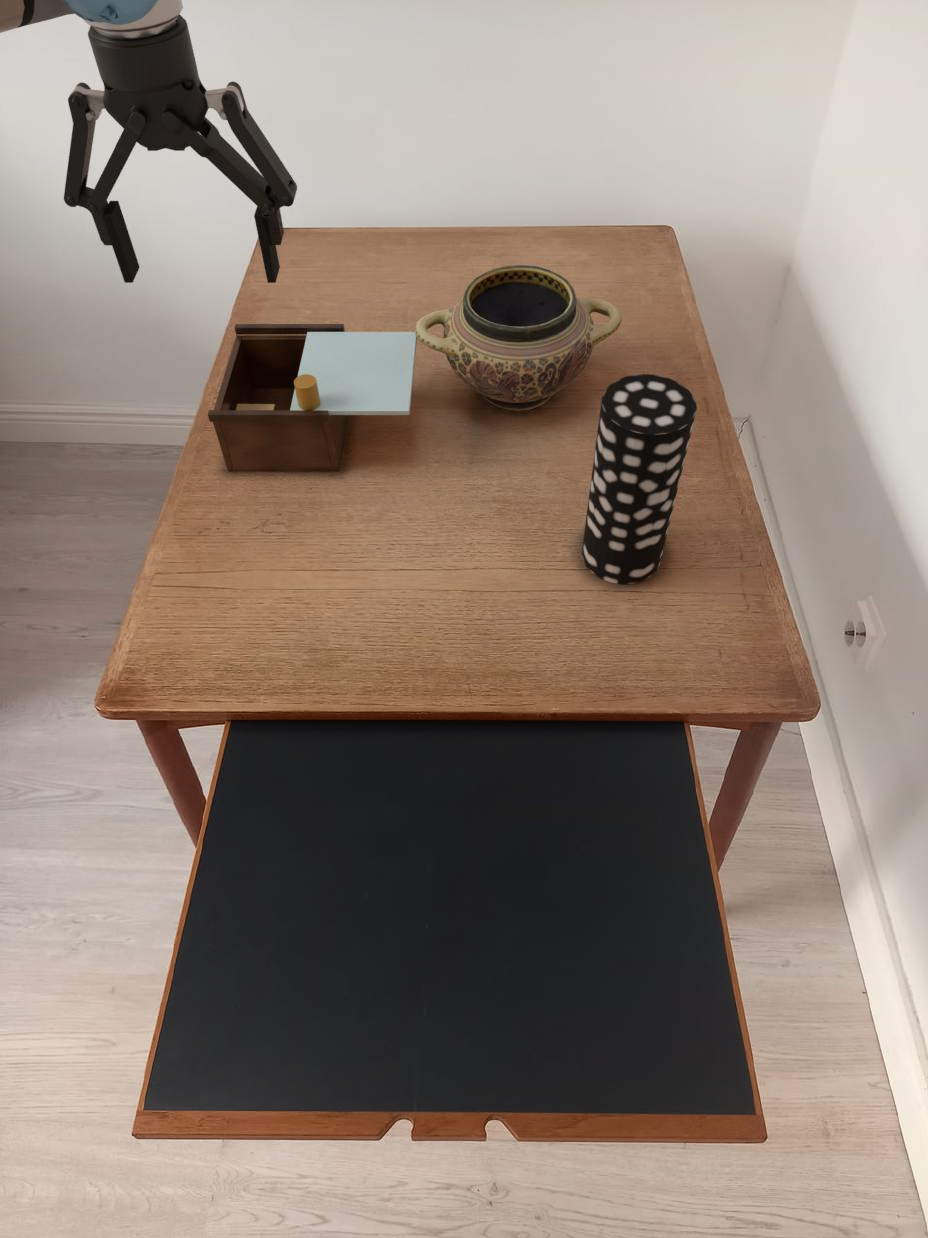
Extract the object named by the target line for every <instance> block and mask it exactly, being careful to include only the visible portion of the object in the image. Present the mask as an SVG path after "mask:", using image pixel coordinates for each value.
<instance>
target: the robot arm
mask: <svg viewBox="0 0 928 1238" xmlns="http://www.w3.org/2000/svg"><path fill="white" fill-rule="evenodd" d="M183 9H184V5H183V0H0V34H1V33H4V32H8V31H12V30H16V29H19V28H22V27H26V26H30V25H33V24H34V25H35V24H37V23H38V24H39V23H41V22H42V23H43V22H46V21H49V20H53V19H56V18H60V17H65V16H68V15H69V16H70V15H75V16H77V17H79V18H80V19H82V20H83V21H84V22H85V23H86V24H87V25H88V26H89V28H88V32H87V37H88V40H89V45H90V46H91V50H92V53H93V57H94V59H95V63H96V67H97V69H98V73H99V76H100V79H101V81H102V83H103V88H104V90H101V89H100V90H99V89H92V87H90V85H88V84H87V83H85V82H79V83H77V84H76V86H75V88H74V89H73V90H72V92H71V93H70V95H69V96H68V98H67V103H68V108H69V112H70V116H71V120H72V131H71V138H70V144H69V145H70V146H69V155H68V161H67V170H66V177H65V185H64V191H63V192H64V193H63V201H64V203H65V204H66V205H67V206H69V207H70V208H76V207H81V208H84V209H86V210H87V211H88V212H90V214H91V216H92V219H93V223H94V225H95V227H96V230H97V233H98V236H99V239H100V241H101V242H102V244H103V245H104V246H111V247H112V250H113V252H114V255H115V259H116V261H117V264H118V267H119V270H120V273H121V276H122V279H123V282H124V283H126V284H128V283H131V284H132V283H134V281H135V278H136V276H137V274H138V272H139V269H140V264H139V261H138V258H137V255H136V252H135V248H134V246H133V242H132V239H131V235H130V234H129V233H130V232H129V230H128V227H127V224H126V221H125V217H124V213H123V211H122V208H121V205H120V202H119V200H109V202H108V198H109V197H110V195H111V193H112V191H113V188H114V187H115V185H116V183H117V181H118V179H119V177H120V175H121V173H122V172H123V169H124V167H125V166H126V163H127V162H128V160H129V158H130V156H131V154H132V152H133V150H134V148H135V147H136V144H138V145H140V146H142V147H144V148H146V149H147V151H148V152H157V151H161V150H163V149H167V150H171V151H175V152H181V151H182V152H185V150H186V149H187V148H189V147H190V148H191V149H192V150H193V151H194V152H195V153H196V154H197V155H198V156H200V158H201V157H202V158H205V159H207V160H208V161H209V162H210V163H211V164H212V165H213V166H214V167H215V168H216V169H218V171H220V172H221V173H222V174H223V175H224V176H225V177H226V178H227V179H228V181H230V182H231V183H232V184H233V185H234V186H236V188H237V189H238V190H239V191H241V192H242V193H243V194H244V195H245V196H246V197H247V198H248V199H249V200H250V201H251V202H252V203H254V205H255V206H256V209H255V211H254V215H253V217H254V222H255V223H254V224H255V228H256V232H257V238H258V241H259V247H260V252H261V256H262V262H263V267H264V271H265V276H266V283H267V284H268V283H269V284H275V283H276V282H277V280H278V276H279V272H280V269H281V266H280V265H281V264H280V260H279V256H278V250H277V246H281V244H282V241H283V237H284V234H285V230H284V223H283V218H282V213H281V208H283V207H288V208H289V207H292V205H293V204H294V201H295V198H296V194H297V191H298V185H297V182H296V181H295V180H294V178H293V176H292V175H291V174H290V172H289V170H288V169H287V168H286V166H285V164H284V163H283V161H282V160H281V159H280V157H279V156H278V154H277V152H276V150H275V149H274V148H273V147H272V144H271V143H270V142H269V140H268V139H267V136H266V135H265V134H264V132H263V131H262V129H261V128H260V127H259V125H258V123H257V122H256V120H255V119H254V117H253V116H252V114H251V113H250V111H249V110H248V106H247V103H246V99H245V96H244V92H243V89H242V87H241V85H240V84H239V83H238V82H236V81H229V82H228V83H227V84H226V87H224V88H216V89H209V90H207V89H206V87H205V85H204V84H203V83H202V81H201V79H200V75H199V69H198V66H197V61H196V58H195V53H194V49H193V48H194V47H193V43H192V39H191V35H190V30H189V26H188V21H187V20H186V19H185V18H184V17H183V16H182V15H181V13H182V11H183ZM209 109H212V110H215V112H217V114H218V116H219V117H220V119H221V120H223V121H227V124H228V126H229V128H230V130H231V132H232V133H233V135H234V136H235V137H236V140H237V141H238V142H239V144H240V145H241V147H242V148H243V149H244V151H245V152H246V154H247V155H248V157H249V158H250V160H251V161H252V162H253V164H254V165H255V167H256V168H257V170H256V168H255V167H253V166H252V164H251V163H250V162H249V161H247V159H246V158H244V156H243V155H241V154H240V152H238V151H237V150H236V148H234V147H233V146H232V144H230V143H229V142H228V141H227V140H226V139H225V138H224V137H223V136H222V135H221V134H220V132H219V130H218V128H217V127H216V126H215V125H214V124H213V123H212V122H211V121H210V119H208V118H207V117H206V115H207V113H208V111H209ZM103 110H105V111H106V112H107V113H108V115H109V116H110V117H112V118H113V120H114V121H115V122H116V123H117V124H119V125H120V127H121V128H122V129H123V130H122V132H121V134H120V136H119V138H118V140H117V142H116V144H115V147H114V148H113V151H112V152H111V154H110V156H109V159H108V160H107V163H106V164H105V166H104V168H103V170H102V172H101V175H100V176H99V179H98V180H97V182H96V184H95V186H94V188H92V187H89V186H87V183H88V177H89V171H90V163H91V157H92V149H93V143H94V137H95V136H94V135H95V129H96V121H98V119H99V118H100V116H101V115H102V113H103Z"/></svg>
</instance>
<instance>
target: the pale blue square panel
mask: <svg viewBox="0 0 928 1238" xmlns="http://www.w3.org/2000/svg"><path fill="white" fill-rule="evenodd" d="M417 340H418V339H417V337H416V334H415V331H345V332H307V336H306V341H305V345H304V350H303V354H302V359H301V363H300V368H299V372H298V377H297V378H296V379H295V380H294V386H295V390H294V395H293V399H292V404H291V408H290V410H328V413H329V415H348V416H410V413H411V404H412V396H413V395H412V394H413V384H414V383H413V382H414V372H415V364H416V363H415V361H416V354H417V353H416V351H417V343H418V341H417Z"/></svg>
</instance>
